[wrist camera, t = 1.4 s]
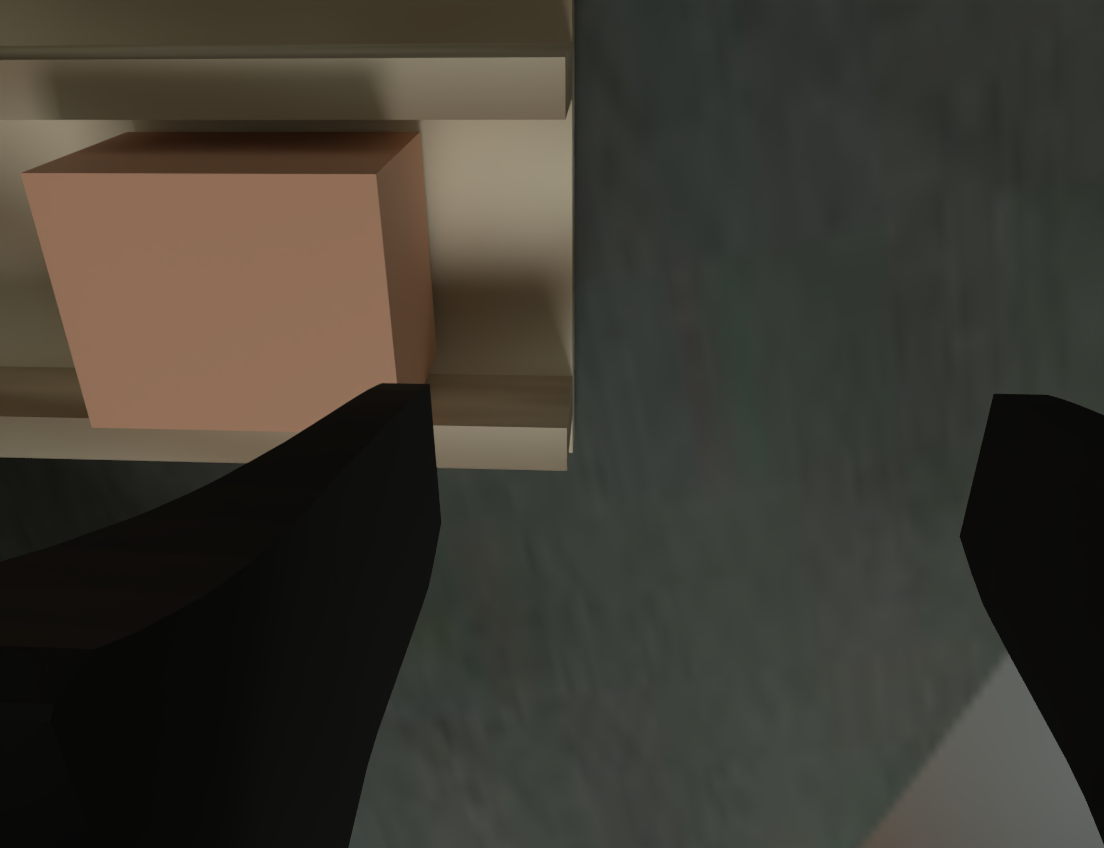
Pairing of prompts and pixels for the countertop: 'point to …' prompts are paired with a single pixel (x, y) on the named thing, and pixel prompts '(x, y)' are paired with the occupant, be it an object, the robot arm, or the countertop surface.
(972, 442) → the countertop surface
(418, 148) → the block
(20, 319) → the chute
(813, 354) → the countertop surface
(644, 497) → the countertop surface
